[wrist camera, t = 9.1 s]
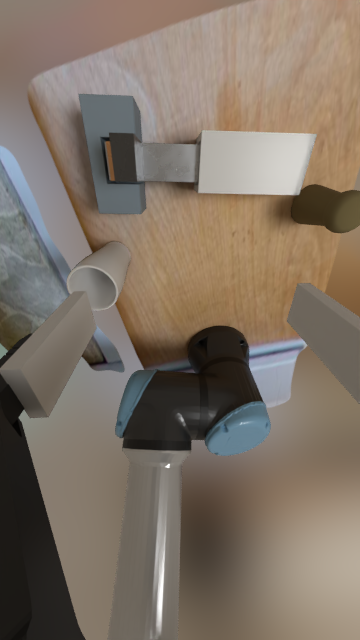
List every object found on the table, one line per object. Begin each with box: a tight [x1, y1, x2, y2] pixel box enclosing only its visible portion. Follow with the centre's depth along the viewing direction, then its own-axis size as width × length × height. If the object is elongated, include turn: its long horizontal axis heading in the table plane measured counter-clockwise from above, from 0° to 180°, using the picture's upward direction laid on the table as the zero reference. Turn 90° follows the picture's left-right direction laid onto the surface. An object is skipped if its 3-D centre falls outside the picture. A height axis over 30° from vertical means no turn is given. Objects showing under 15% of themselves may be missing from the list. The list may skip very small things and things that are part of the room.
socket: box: [79, 94, 146, 214], centre depth 30 cm, size 12×6×7 cm, turn 179°
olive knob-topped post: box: [291, 184, 360, 233], centre depth 32 cm, size 6×6×11 cm
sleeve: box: [194, 130, 317, 195], centre depth 30 cm, size 6×14×7 cm, turn 89°
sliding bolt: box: [104, 132, 200, 182], centre depth 27 cm, size 4×18×11 cm, turn 89°
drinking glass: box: [67, 241, 131, 311], centre depth 34 cm, size 7×7×15 cm
